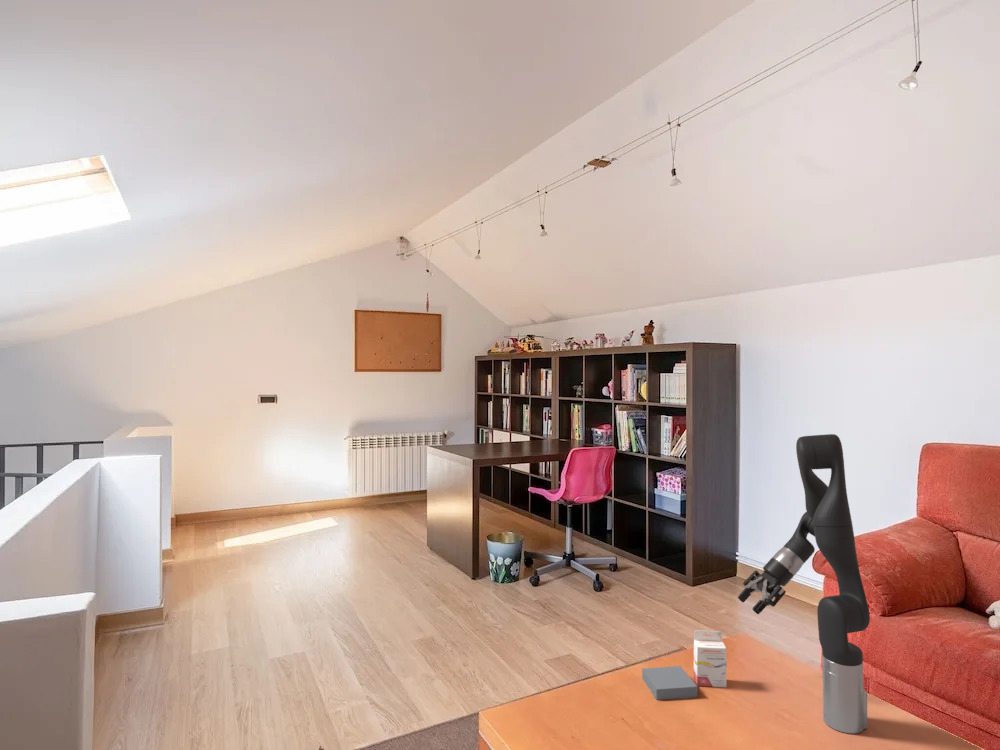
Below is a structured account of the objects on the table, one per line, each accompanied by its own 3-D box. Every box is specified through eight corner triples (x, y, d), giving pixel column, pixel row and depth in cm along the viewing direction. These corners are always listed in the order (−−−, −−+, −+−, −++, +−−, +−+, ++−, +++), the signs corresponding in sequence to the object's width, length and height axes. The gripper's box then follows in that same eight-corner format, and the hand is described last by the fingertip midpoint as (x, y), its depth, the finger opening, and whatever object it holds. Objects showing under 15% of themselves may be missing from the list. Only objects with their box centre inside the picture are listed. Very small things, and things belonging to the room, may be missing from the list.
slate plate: (680, 675, 182) (680, 666, 182) (697, 697, 170) (697, 686, 170) (642, 678, 181) (642, 668, 181) (656, 700, 169) (656, 689, 169)
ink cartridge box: (697, 686, 176) (696, 636, 176) (693, 678, 181) (692, 629, 181) (727, 687, 175) (726, 637, 175) (722, 679, 180) (722, 630, 180)
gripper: (762, 550, 187) (727, 588, 186) (789, 565, 173) (751, 607, 172) (778, 566, 188) (743, 604, 187) (806, 583, 173) (769, 624, 172)
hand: (747, 606), depth 179 cm, fingers open, 8 cm apart
